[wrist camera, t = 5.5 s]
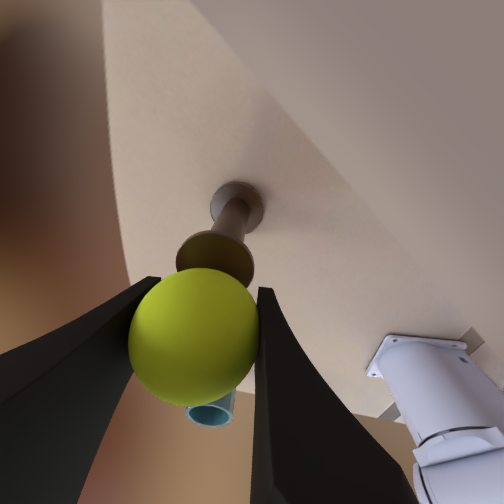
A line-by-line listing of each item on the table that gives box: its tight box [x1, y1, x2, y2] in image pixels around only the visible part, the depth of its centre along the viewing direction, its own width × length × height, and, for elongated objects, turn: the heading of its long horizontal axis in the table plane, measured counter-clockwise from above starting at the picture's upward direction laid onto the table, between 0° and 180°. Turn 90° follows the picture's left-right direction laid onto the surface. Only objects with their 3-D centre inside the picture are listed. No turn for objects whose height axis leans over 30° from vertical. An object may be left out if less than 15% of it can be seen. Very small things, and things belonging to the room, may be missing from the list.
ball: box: [128, 268, 259, 406], centre depth 8 cm, size 5×5×5 cm
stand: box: [176, 182, 263, 289], centre depth 14 cm, size 5×5×10 cm
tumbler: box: [185, 387, 236, 427], centre depth 26 cm, size 5×5×7 cm
